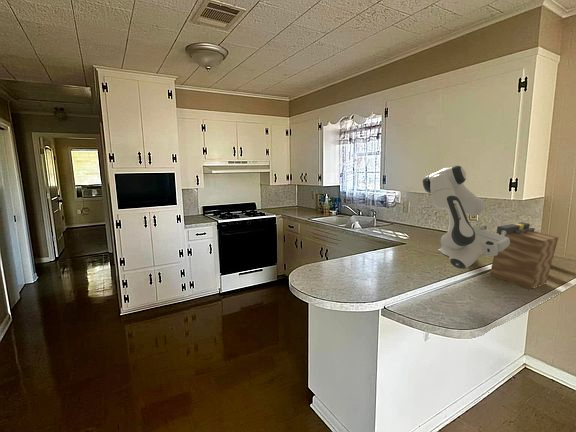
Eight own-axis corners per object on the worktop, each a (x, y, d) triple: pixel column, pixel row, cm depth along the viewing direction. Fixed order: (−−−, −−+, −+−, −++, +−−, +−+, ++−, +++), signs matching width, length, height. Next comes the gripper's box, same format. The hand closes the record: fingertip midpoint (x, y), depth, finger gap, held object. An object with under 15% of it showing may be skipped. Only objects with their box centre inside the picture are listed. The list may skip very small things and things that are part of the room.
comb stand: (530, 289, 162) (543, 238, 155) (489, 274, 179) (500, 226, 172) (545, 284, 169) (559, 234, 162) (505, 269, 186) (516, 223, 179)
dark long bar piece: (521, 228, 176) (522, 222, 176) (528, 230, 173) (529, 223, 173) (496, 233, 165) (497, 226, 164) (503, 235, 162) (505, 228, 161)
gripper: (458, 243, 166) (475, 228, 170) (499, 257, 149) (517, 240, 153) (456, 233, 163) (473, 218, 167) (498, 246, 146) (516, 229, 150)
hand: (494, 228), depth 160 cm, fingers open, 8 cm apart
